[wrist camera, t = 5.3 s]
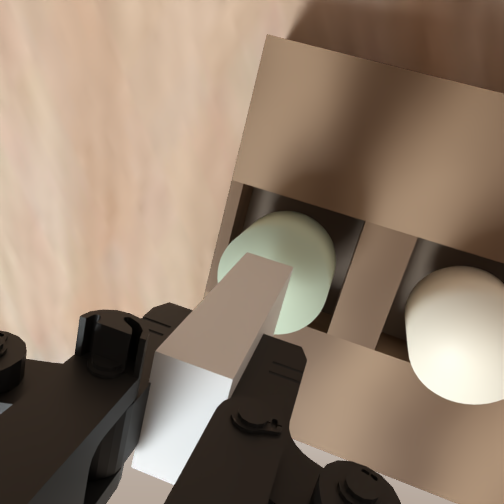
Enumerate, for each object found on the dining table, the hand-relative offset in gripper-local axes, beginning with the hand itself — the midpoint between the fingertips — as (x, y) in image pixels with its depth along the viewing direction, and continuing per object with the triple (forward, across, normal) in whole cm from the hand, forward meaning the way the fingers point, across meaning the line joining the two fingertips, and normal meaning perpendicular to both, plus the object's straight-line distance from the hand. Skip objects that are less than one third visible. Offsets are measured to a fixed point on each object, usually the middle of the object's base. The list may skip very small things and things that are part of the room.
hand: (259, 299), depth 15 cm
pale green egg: (+5, 0, 0) cm, 5 cm away
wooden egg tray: (+8, +7, 0) cm, 11 cm away
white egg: (+5, +7, 0) cm, 9 cm away
